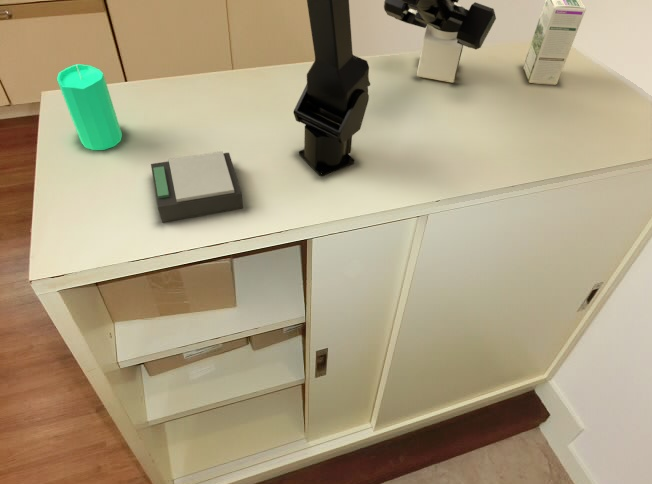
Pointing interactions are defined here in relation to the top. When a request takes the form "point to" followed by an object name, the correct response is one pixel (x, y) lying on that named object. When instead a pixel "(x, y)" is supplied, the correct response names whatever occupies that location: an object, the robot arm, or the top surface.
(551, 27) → the syrup box
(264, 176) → the top surface
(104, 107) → the candle
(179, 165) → the scale
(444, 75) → the medicine bottle
